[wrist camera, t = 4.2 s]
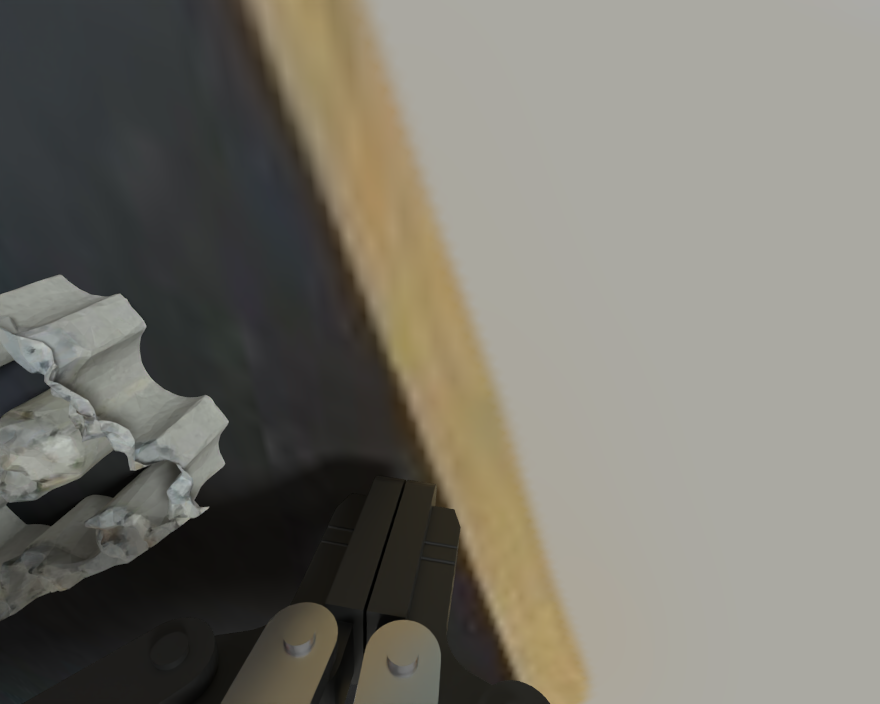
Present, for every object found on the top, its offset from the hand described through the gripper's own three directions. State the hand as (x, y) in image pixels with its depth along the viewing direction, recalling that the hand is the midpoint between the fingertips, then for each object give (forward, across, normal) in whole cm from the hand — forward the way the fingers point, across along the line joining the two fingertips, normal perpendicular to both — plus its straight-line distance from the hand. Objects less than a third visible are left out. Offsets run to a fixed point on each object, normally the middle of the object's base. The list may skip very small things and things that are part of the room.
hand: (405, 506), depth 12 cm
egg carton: (+2, +11, 0) cm, 11 cm away
